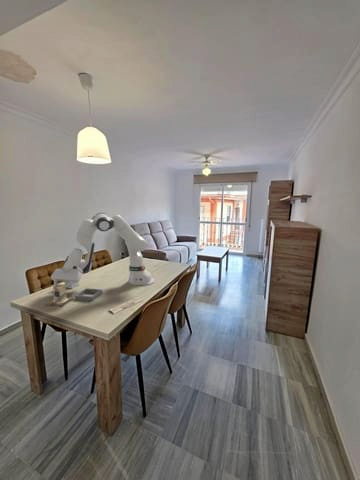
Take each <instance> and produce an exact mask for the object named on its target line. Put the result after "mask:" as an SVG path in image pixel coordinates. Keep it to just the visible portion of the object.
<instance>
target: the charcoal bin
mask: <svg viewBox="0 0 360 480" xmlns="http://www.w3.org/2000/svg"><path fill="white" fill-rule="evenodd" d="M86 294H93V295H92V296H90V295H86ZM102 294H103V288H101V289H100V288H89V287H88V288H87V287H86V288H84V289H82V290H81V291H80V292H78V293H77V294H75V295H74V300H76V301H86V302H94V301H96V299H98V298H99V297H100V296H101V295H102Z"/></svg>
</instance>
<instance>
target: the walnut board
mask: <svg viewBox="0 0 360 480" xmlns="http://www.w3.org/2000/svg"><path fill="white" fill-rule="evenodd" d="M73 300H75V296H66V299H65V300H64V301H62V302H54V298H53V299H51V300H49V301H48V302H46V303H45V304H44V305H46V306H51V307H52V306H53V307H64V306H65V305H67V304H68V303H70V302H71V301H73Z"/></svg>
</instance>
